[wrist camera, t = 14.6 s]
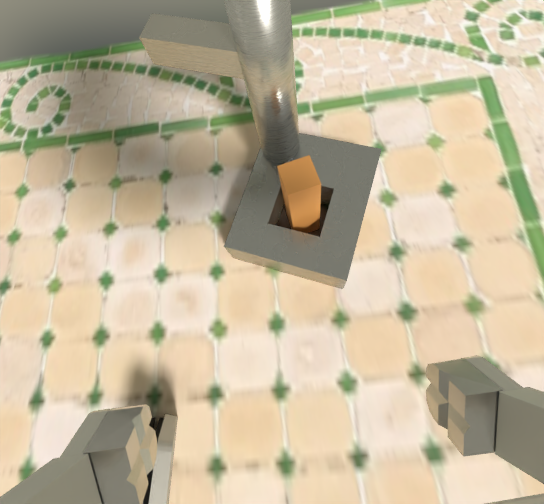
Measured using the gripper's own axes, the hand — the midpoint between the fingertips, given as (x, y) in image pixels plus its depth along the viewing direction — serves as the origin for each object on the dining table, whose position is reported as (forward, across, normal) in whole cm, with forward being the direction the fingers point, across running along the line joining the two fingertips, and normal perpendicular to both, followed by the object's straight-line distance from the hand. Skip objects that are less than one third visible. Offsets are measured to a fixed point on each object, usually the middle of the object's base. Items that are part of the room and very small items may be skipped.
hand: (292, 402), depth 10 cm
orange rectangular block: (+27, -5, -1) cm, 28 cm away
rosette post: (+29, -2, -3) cm, 29 cm away
